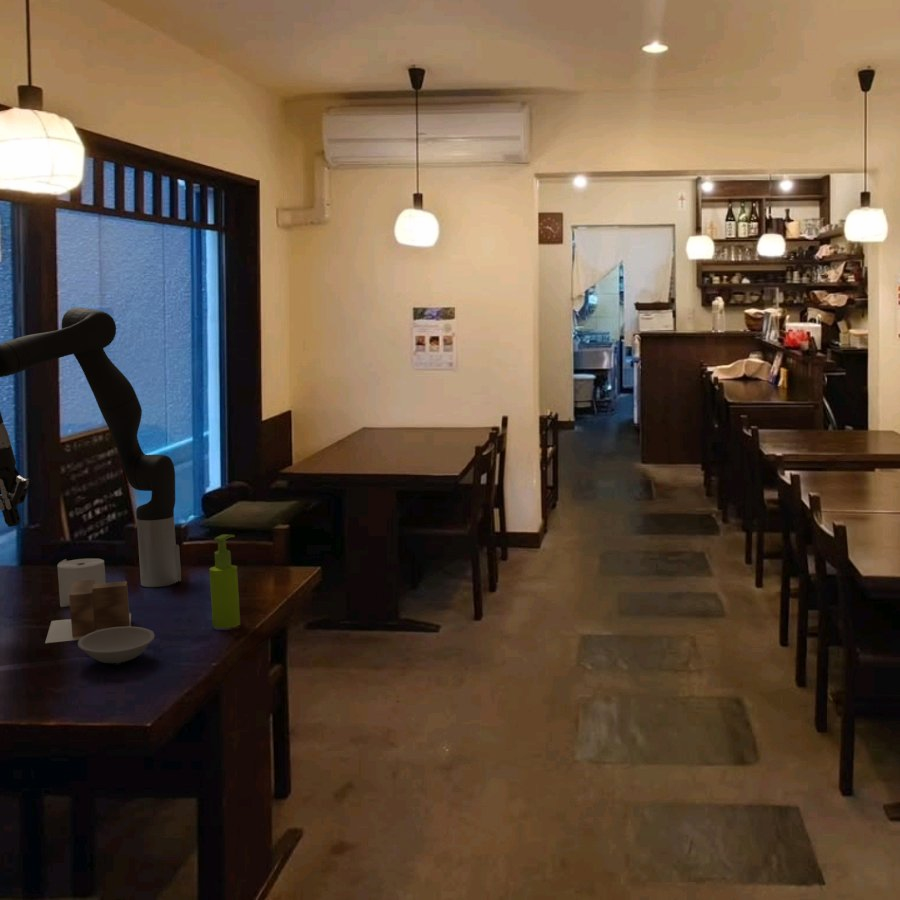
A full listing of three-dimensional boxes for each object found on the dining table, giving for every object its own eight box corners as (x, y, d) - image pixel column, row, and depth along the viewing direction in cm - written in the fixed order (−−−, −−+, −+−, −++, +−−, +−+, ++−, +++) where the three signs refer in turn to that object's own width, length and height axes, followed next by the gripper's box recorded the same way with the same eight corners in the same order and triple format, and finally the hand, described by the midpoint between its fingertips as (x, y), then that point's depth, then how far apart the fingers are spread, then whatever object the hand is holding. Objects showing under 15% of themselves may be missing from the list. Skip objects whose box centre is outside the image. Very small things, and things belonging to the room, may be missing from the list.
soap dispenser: (247, 622, 238) (242, 533, 236) (231, 631, 232) (226, 539, 229) (224, 620, 240) (219, 532, 238) (207, 629, 234) (202, 538, 231)
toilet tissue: (92, 610, 253) (89, 568, 252) (46, 609, 255) (42, 567, 254) (115, 598, 263) (112, 558, 262) (70, 597, 266) (67, 557, 264)
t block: (72, 637, 227) (69, 595, 226) (75, 621, 240) (72, 581, 239) (129, 631, 230) (126, 590, 229) (129, 615, 243) (127, 576, 242)
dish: (158, 671, 206) (157, 646, 205) (79, 681, 201) (77, 655, 201) (153, 646, 222) (151, 622, 222) (79, 655, 218) (77, 631, 217)
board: (45, 647, 224) (44, 643, 223) (52, 625, 241) (51, 620, 241) (193, 632, 232) (193, 627, 232) (190, 611, 249) (189, 607, 249)
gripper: (-46, 456, 228) (-23, 534, 231) (6, 446, 224) (29, 526, 227) (-22, 449, 235) (-1, 525, 238) (29, 439, 231) (50, 516, 234)
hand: (14, 525), depth 232 cm, fingers closed
